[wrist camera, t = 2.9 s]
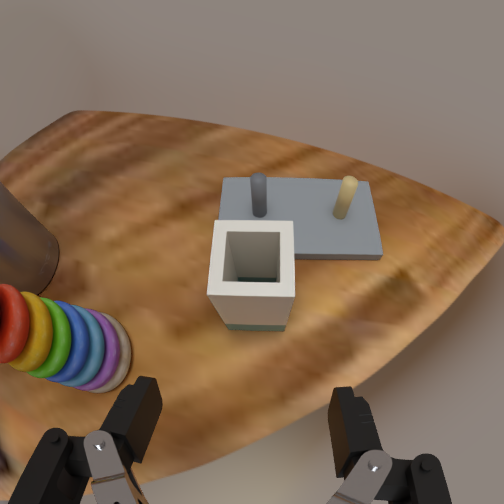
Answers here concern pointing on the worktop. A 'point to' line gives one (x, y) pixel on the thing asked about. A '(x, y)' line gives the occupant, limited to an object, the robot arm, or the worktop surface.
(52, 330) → the stacking toy
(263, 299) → the sleeve
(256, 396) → the worktop surface
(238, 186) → the pin board
